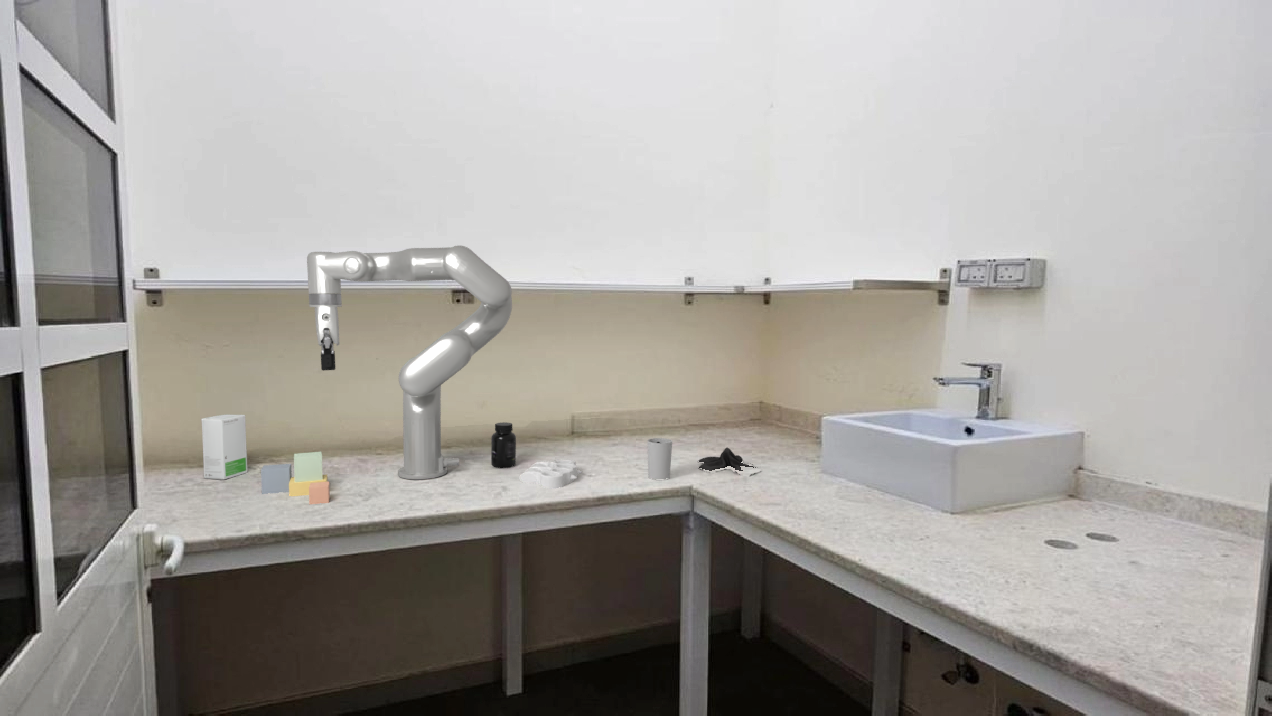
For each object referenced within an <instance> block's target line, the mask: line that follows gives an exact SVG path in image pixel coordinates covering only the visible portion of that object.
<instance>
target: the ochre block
mask: <svg viewBox="0 0 1272 716" xmlns="http://www.w3.org/2000/svg"><path fill="white" fill-rule="evenodd" d="M322 476H323V480H314V481H304V482H295V477H294V476H292V477H291V479H290V482H289V492H288V493H289V494H288V495H289V496H291V497H301V496H309V486H310V483H316V482H329V481H328V474H322Z"/></svg>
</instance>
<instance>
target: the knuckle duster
mask: <svg viewBox="0 0 1272 716" xmlns="http://www.w3.org/2000/svg"><path fill="white" fill-rule="evenodd" d="M581 473H583V471H581V470H579V469H577V463H576V461H575V460H573V459H568V458H567V459H557V460H554V461H543V460H542V461H536V462H535V463H533V464H531V466H530V467H528V468H526V469H525V471H524V472H522V473H521V474H520V475H519V477H518V479H519V481H520V482H521V483H523V484H535V485H536V484H537V485H539V486H540V487H541V486H542V488H544V489H560V488H564V485H567V484H571V483H574V480H576V479H578V477H577V475H579V474H581ZM559 487H560V488H559Z"/></svg>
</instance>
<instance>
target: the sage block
mask: <svg viewBox="0 0 1272 716" xmlns="http://www.w3.org/2000/svg"><path fill="white" fill-rule="evenodd" d="M293 470H294V472H293V474H294V476H293V477H295V482H304V481H314V480H323V476H322V475H323V454H322V451H314V452H313V451H312V452H299V453H293Z"/></svg>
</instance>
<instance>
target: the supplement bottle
mask: <svg viewBox="0 0 1272 716" xmlns="http://www.w3.org/2000/svg"><path fill="white" fill-rule="evenodd" d="M513 430H514V429H513V423H511V422H506V421H505V422H504V421H503V422H496V423H495V425H494V431H495V432H494V433H493V434H492V435H491V439H490V440H491V443H490V445H491V446H490V449H491V451H490V452H491V453H490V456H491V458H490V464H491V466H492V467H493V468H496V469H510V468H513V467H515V465H516V463H517V462H516V461H517V455H516V454H517V435H516V434H515V433H514V432H513Z"/></svg>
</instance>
